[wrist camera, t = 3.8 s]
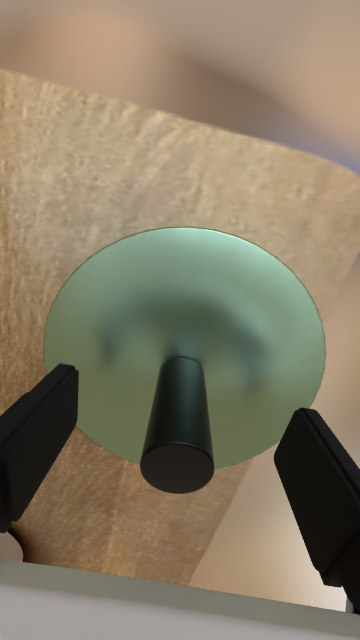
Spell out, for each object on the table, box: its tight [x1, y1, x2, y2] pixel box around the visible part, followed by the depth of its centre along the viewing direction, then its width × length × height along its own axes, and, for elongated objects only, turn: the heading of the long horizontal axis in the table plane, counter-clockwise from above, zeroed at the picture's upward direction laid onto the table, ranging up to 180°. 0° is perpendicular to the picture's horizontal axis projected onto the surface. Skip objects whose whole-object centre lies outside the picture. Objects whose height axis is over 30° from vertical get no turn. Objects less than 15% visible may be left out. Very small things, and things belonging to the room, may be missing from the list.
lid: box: [43, 227, 326, 494], centre depth 10 cm, size 15×15×6 cm
